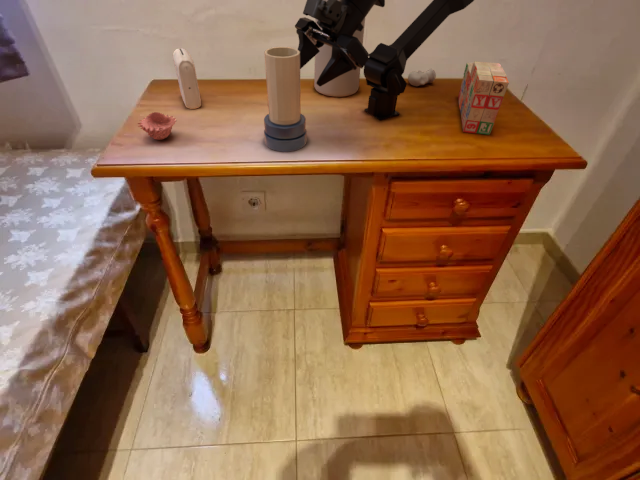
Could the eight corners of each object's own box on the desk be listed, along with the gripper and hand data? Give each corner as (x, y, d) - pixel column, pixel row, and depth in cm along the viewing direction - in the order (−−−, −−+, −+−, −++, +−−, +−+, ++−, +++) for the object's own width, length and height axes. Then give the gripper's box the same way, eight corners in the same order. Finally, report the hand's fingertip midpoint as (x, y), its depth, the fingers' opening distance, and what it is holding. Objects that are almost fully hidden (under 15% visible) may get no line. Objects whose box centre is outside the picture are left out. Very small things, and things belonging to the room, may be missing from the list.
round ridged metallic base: (293, 128, 88) (293, 105, 84) (314, 145, 82) (314, 121, 78) (257, 137, 84) (255, 114, 80) (276, 155, 78) (275, 131, 75)
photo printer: (203, 107, 95) (193, 55, 87) (186, 110, 94) (174, 57, 85) (196, 93, 102) (187, 43, 93) (180, 95, 100) (169, 44, 92)
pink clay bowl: (144, 130, 85) (136, 106, 81) (181, 128, 86) (175, 104, 83) (140, 147, 79) (131, 122, 76) (179, 144, 81) (173, 119, 77)
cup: (280, 109, 83) (277, 44, 74) (306, 115, 80) (306, 50, 72) (262, 120, 78) (257, 53, 70) (289, 127, 76) (287, 59, 67)
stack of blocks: (457, 97, 104) (470, 49, 96) (480, 99, 103) (495, 51, 95) (462, 132, 88) (479, 78, 80) (490, 135, 88) (509, 81, 79)
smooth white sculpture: (409, 91, 109) (404, 80, 112) (435, 89, 111) (430, 78, 113) (413, 78, 106) (408, 67, 108) (440, 76, 107) (434, 65, 109)
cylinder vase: (334, 78, 113) (340, -23, 96) (367, 89, 107) (379, -16, 90) (305, 88, 106) (305, -18, 89) (337, 101, 100) (344, -10, 83)
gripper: (302, -31, 73) (256, 39, 76) (362, -15, 62) (306, 66, 65) (333, 11, 82) (291, 73, 85) (391, 31, 71) (340, 102, 73)
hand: (305, 77), depth 77 cm, fingers open, 9 cm apart
